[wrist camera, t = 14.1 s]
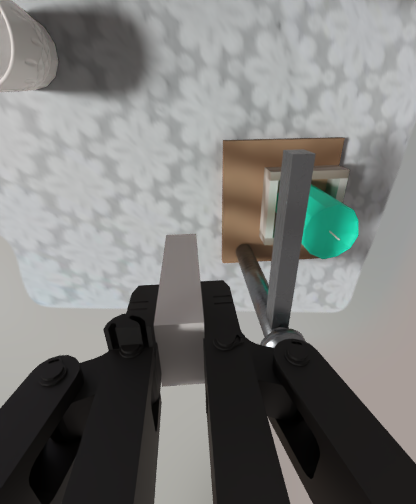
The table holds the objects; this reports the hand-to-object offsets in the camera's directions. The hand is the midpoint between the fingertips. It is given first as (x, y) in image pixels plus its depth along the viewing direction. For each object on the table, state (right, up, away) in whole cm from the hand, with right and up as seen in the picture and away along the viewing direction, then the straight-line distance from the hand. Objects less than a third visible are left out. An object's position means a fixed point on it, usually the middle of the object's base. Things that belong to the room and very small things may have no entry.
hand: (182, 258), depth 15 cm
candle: (+13, +7, +23) cm, 28 cm away
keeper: (+6, +7, +23) cm, 24 cm away
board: (+11, +7, +24) cm, 28 cm away
